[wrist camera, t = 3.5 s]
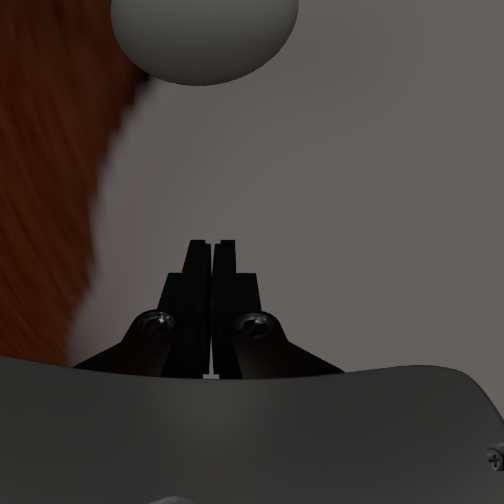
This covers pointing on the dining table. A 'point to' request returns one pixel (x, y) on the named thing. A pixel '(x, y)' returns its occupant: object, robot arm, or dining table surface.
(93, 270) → the dining table surface
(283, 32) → the cue ball
